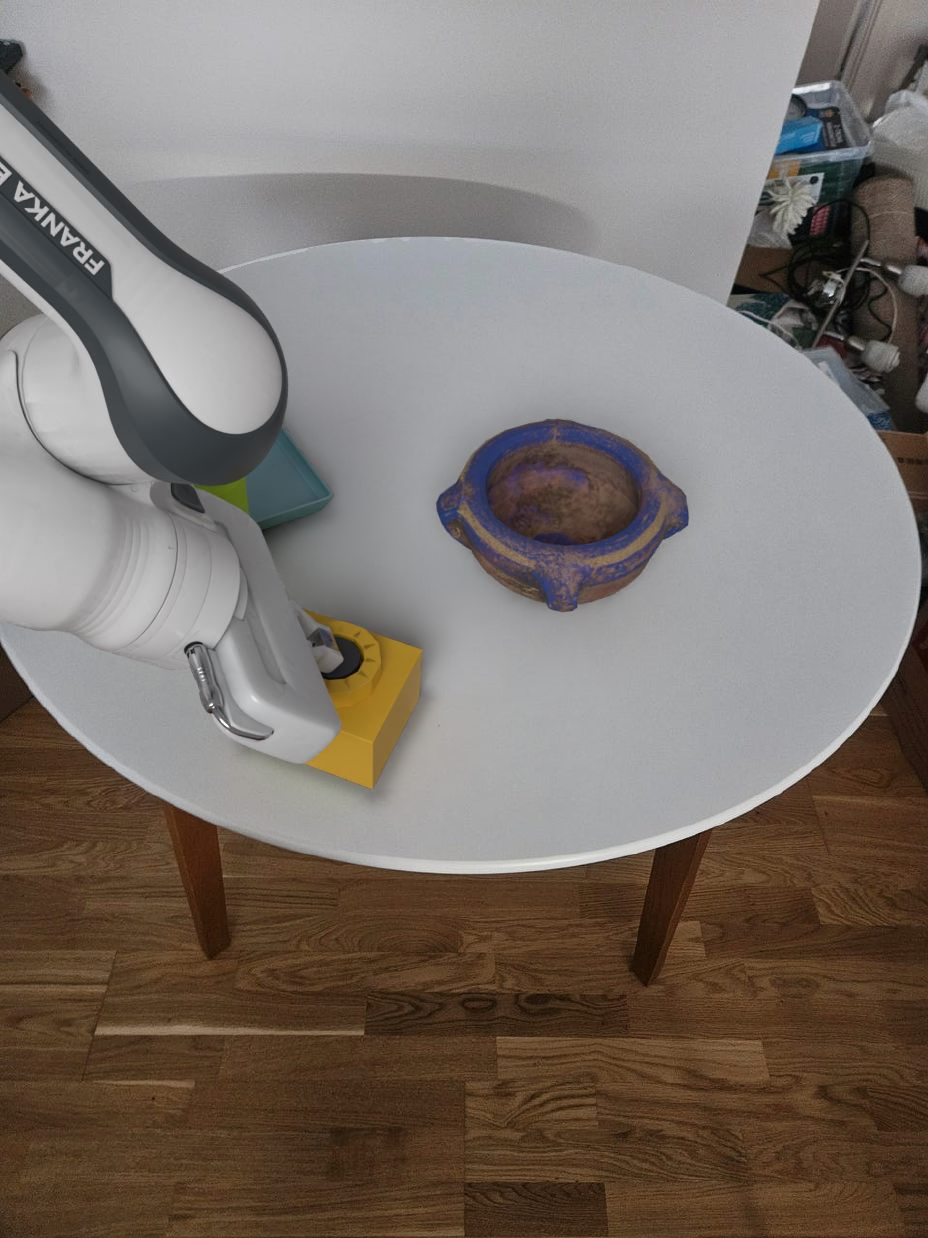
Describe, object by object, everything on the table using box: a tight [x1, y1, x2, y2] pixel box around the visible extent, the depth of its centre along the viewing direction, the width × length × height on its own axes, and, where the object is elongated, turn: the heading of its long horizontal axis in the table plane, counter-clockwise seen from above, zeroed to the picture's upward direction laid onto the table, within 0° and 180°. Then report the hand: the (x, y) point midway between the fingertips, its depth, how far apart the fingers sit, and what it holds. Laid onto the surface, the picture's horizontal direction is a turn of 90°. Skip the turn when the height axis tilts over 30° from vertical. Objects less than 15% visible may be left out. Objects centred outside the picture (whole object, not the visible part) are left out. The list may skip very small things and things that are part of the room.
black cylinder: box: [320, 637, 360, 680], centre depth 69 cm, size 4×4×2 cm
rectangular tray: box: [245, 424, 334, 531], centre depth 94 cm, size 26×9×2 cm, turn 31°
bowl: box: [435, 418, 690, 613], centre depth 84 cm, size 18×18×10 cm
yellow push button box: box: [300, 607, 423, 790], centre depth 72 cm, size 10×9×8 cm
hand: (331, 651), depth 68 cm, fingers closed, pressing on black cylinder
